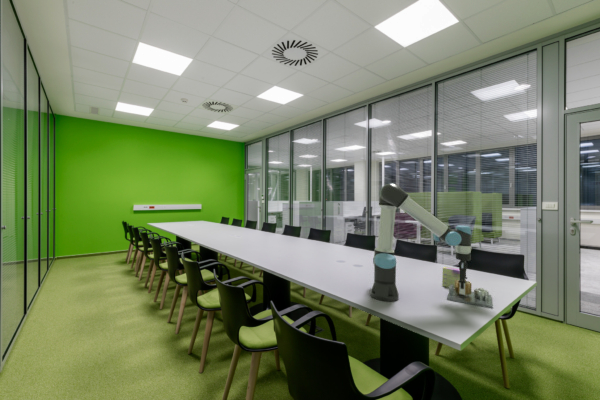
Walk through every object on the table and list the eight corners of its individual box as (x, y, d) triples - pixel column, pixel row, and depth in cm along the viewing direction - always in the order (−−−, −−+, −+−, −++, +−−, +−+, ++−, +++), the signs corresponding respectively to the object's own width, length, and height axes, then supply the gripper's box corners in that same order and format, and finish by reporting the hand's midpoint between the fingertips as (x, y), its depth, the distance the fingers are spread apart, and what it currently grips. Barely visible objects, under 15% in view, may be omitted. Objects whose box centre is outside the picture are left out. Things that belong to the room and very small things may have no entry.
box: (462, 287, 174) (462, 269, 174) (460, 289, 170) (460, 270, 170) (444, 284, 181) (445, 266, 181) (442, 286, 177) (442, 267, 177)
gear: (454, 293, 156) (454, 282, 156) (455, 289, 163) (455, 279, 163) (471, 295, 152) (471, 285, 152) (471, 291, 159) (471, 281, 159)
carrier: (446, 299, 152) (447, 288, 152) (450, 289, 169) (450, 279, 169) (492, 308, 141) (492, 296, 141) (491, 297, 158) (491, 286, 158)
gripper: (470, 256, 147) (469, 298, 147) (471, 250, 164) (471, 288, 164) (454, 254, 151) (453, 295, 151) (457, 249, 169) (456, 286, 168)
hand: (462, 291), depth 158 cm, fingers closed on gear, 8 cm apart
